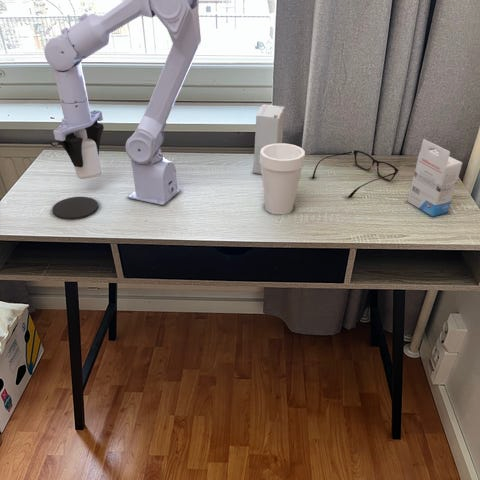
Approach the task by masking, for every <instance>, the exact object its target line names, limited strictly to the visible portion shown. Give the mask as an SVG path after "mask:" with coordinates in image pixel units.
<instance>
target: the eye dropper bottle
mask: <svg viewBox="0 0 480 480" xmlns="http://www.w3.org/2000/svg"><path fill="white" fill-rule="evenodd" d="M74 135H76V137H79V138H83V140H82V158H83V167H76V166H74V170H75V174H76V177H77V178H78V179H80V180H85V179H92V178H96V177H98V176H100V175H101V174H102V168H101V163H100V155H99V156H98V151H97V146H96V143H95V141H93V140H92V139H87V133H86V129H85V128H83V129H80V130H79V131H78V132H76V133H74Z"/></svg>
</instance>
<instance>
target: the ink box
mask: <svg viewBox="0 0 480 480" xmlns="http://www.w3.org/2000/svg"><path fill="white" fill-rule="evenodd" d="M417 156H418V157H417V160H416V165H415V169H414V173H413V178H412V182H411V185H410V191H409V194H408V199H407V202H408V203H410V204H411V205H412V206H414V207H415V208H417V209H419V210H420V211H422V212H424V213H425V214H427V215H428V216H430V217H432V218H433V217H436V216H441V215H443V214H446V213H449V211H450V208H451V203H452V200H453V198H454V197H453V196H454V193H455V190H456V186H457V182H458V181H459V180H458V179H459V177H460V173H461V170H462V166H463V161H460V160H458V159H456V158H454V157H453V156H451V151H450V150H448V149H445V148H444V147H442V146H440V145H438V144H435V143H433V142H431V141H429V140H427V139H426V138H424V139H423V140H422V142H421V146H420V150H419V153H418V155H417Z"/></svg>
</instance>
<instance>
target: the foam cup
mask: <svg viewBox="0 0 480 480" xmlns="http://www.w3.org/2000/svg"><path fill="white" fill-rule="evenodd" d="M305 154H306V151H305V150H304V149H303V148H302V147H301V146H298V145H296V144H291V143H287V142H286V143H285V142H282V143H279V144H271V145H267V146H265V147H263V148H262V149H261V151H260V164H261V171H262V174H261V180H262V189H263V190H262V192H263V198H264V199H263V200H264V208H265V210H266V211H267V212H269V213H270V214H273V215H274V214H275V215H286V214H289V213H291V212H292V211H293V209H294V205H295V200H296V196H297V191H298V187H299V182H300V178H301V174H302V169H303V167H304V164H305V158H306V157H305Z"/></svg>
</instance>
